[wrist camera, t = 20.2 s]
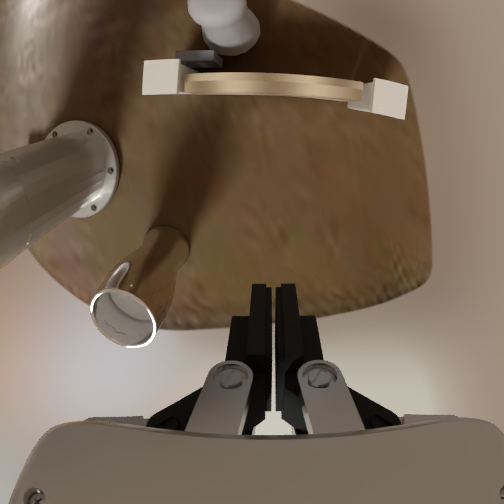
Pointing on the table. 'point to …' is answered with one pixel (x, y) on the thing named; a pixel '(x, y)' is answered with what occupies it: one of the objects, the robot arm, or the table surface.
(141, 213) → the table surface
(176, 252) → the beer glass
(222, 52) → the salt shaker
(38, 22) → the table surface
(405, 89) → the gate posts
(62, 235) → the table surface
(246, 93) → the gate
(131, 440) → the robot arm
